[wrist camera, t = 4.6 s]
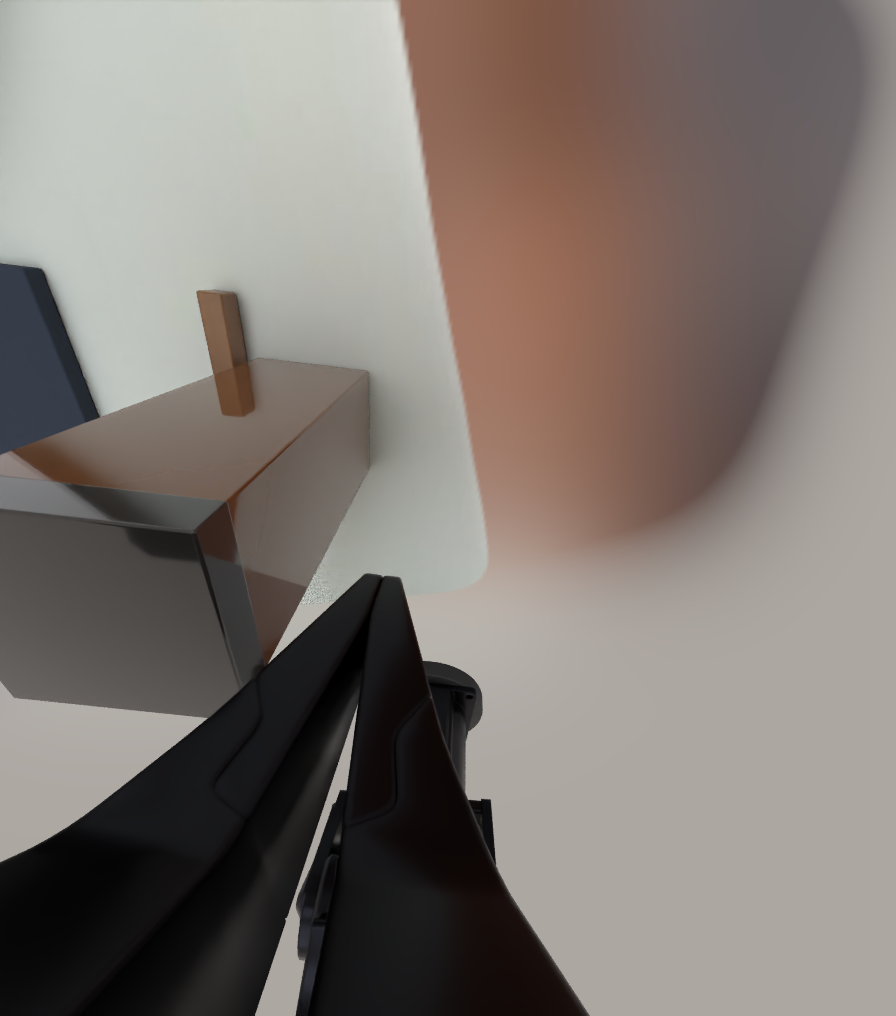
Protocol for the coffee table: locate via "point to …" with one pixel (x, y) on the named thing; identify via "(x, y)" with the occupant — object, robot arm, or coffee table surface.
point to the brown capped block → (175, 536)
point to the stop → (222, 329)
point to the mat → (36, 364)
